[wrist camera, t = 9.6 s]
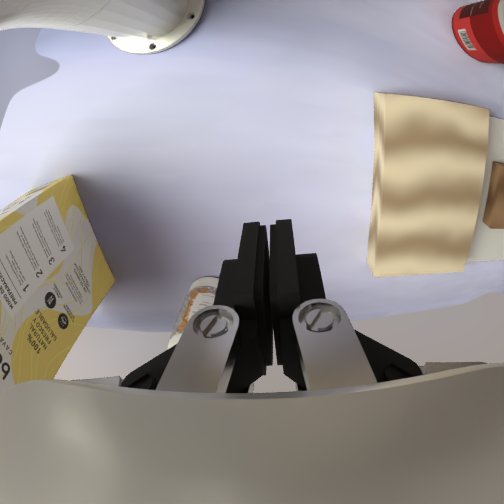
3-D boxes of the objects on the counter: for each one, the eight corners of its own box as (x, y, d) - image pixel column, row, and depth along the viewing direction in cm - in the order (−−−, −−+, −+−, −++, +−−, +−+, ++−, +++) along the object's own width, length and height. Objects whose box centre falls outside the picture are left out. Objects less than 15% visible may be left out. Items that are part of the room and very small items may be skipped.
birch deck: (373, 92, 29) (384, 93, 26) (472, 105, 28) (489, 109, 24) (366, 260, 40) (373, 277, 37) (452, 256, 39) (463, 271, 35)
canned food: (491, 73, 25) (546, 80, 15) (444, 42, 24) (497, 36, 15) (499, 28, 21) (552, 26, 11) (453, -4, 20) (503, -20, 11)
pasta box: (28, 191, 39) (-99, 294, 15) (71, 174, 37) (-81, 291, 13) (70, 285, 48) (-15, 408, 24) (115, 281, 46) (27, 427, 22)
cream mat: (474, 113, 28) (476, 113, 28) (535, 127, 27) (536, 128, 26) (453, 261, 39) (454, 263, 39) (510, 258, 38) (511, 259, 37)
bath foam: (240, 282, 44) (217, 404, 27) (230, 316, 47) (207, 431, 30) (193, 269, 43) (147, 385, 26) (186, 304, 47) (147, 415, 30)
